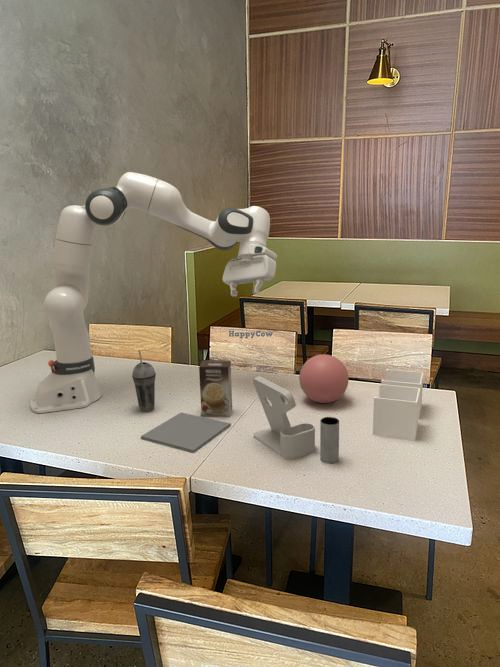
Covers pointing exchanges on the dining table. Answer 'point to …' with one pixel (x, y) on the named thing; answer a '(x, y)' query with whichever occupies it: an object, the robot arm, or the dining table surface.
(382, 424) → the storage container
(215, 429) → the mat
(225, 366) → the coffee box
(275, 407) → the phone holder
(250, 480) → the dining table surface
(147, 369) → the beverage cup
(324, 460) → the gray cylinder
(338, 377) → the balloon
